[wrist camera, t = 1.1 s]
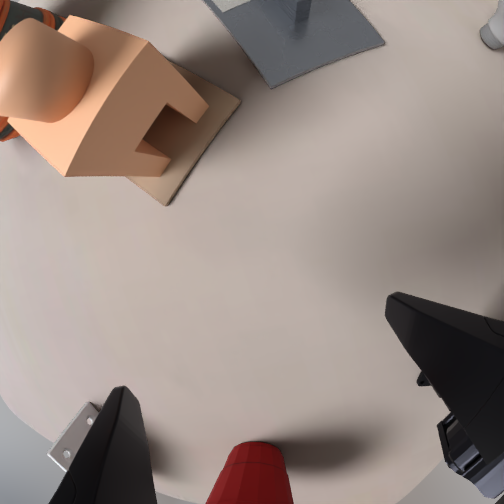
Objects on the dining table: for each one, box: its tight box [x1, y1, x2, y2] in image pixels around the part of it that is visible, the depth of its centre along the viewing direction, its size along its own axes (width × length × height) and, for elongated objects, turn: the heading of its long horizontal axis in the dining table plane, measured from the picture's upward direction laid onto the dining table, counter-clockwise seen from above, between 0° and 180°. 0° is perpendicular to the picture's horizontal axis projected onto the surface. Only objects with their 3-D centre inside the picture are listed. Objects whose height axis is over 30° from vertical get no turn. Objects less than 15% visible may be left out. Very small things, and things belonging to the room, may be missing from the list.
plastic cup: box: [206, 442, 294, 504], centre depth 19 cm, size 11×11×12 cm
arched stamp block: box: [0, 15, 209, 177], centre depth 11 cm, size 6×6×14 cm
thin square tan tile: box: [125, 60, 241, 206], centre depth 18 cm, size 9×9×1 cm
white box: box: [47, 402, 99, 472], centre depth 22 cm, size 14×5×10 cm, turn 3°
